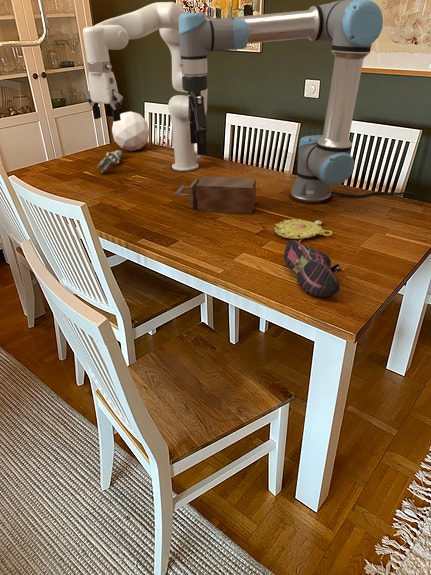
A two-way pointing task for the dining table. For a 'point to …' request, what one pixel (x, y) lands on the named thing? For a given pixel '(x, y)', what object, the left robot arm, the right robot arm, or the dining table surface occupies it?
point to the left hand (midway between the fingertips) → (107, 119)
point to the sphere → (130, 131)
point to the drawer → (191, 192)
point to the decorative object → (300, 229)
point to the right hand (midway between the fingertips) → (198, 148)
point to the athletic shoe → (312, 269)
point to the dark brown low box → (226, 194)
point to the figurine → (110, 160)
